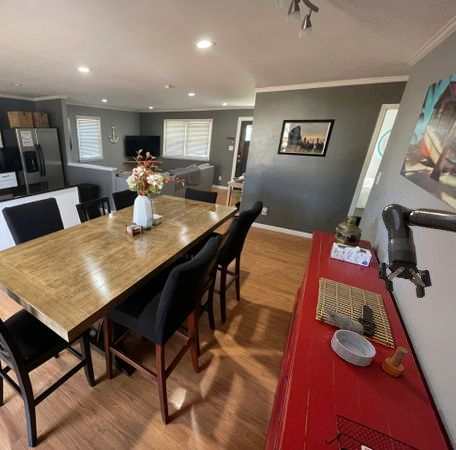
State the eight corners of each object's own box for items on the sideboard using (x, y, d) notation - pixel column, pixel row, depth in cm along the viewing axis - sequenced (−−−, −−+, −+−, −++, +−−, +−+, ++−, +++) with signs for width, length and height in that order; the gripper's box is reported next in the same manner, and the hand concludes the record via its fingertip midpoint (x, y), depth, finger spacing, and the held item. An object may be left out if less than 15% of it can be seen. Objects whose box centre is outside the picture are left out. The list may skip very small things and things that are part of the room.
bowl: (378, 363, 94) (384, 353, 92) (352, 370, 91) (358, 360, 89) (346, 336, 106) (351, 327, 104) (323, 342, 103) (326, 332, 101)
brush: (403, 375, 90) (416, 354, 86) (393, 378, 89) (406, 357, 84) (388, 362, 94) (400, 342, 90) (378, 365, 93) (389, 345, 89)
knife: (362, 304, 126) (363, 302, 126) (378, 310, 122) (379, 308, 121) (354, 330, 110) (356, 327, 109) (373, 338, 105) (374, 336, 105)
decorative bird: (362, 340, 104) (368, 327, 102) (319, 323, 113) (323, 311, 110) (361, 332, 108) (367, 319, 106) (319, 316, 117) (324, 304, 114)
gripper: (384, 245, 90) (386, 287, 85) (433, 253, 86) (439, 298, 80) (373, 251, 97) (374, 291, 91) (418, 258, 92) (422, 301, 87)
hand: (405, 294), depth 86 cm, fingers open, 8 cm apart
